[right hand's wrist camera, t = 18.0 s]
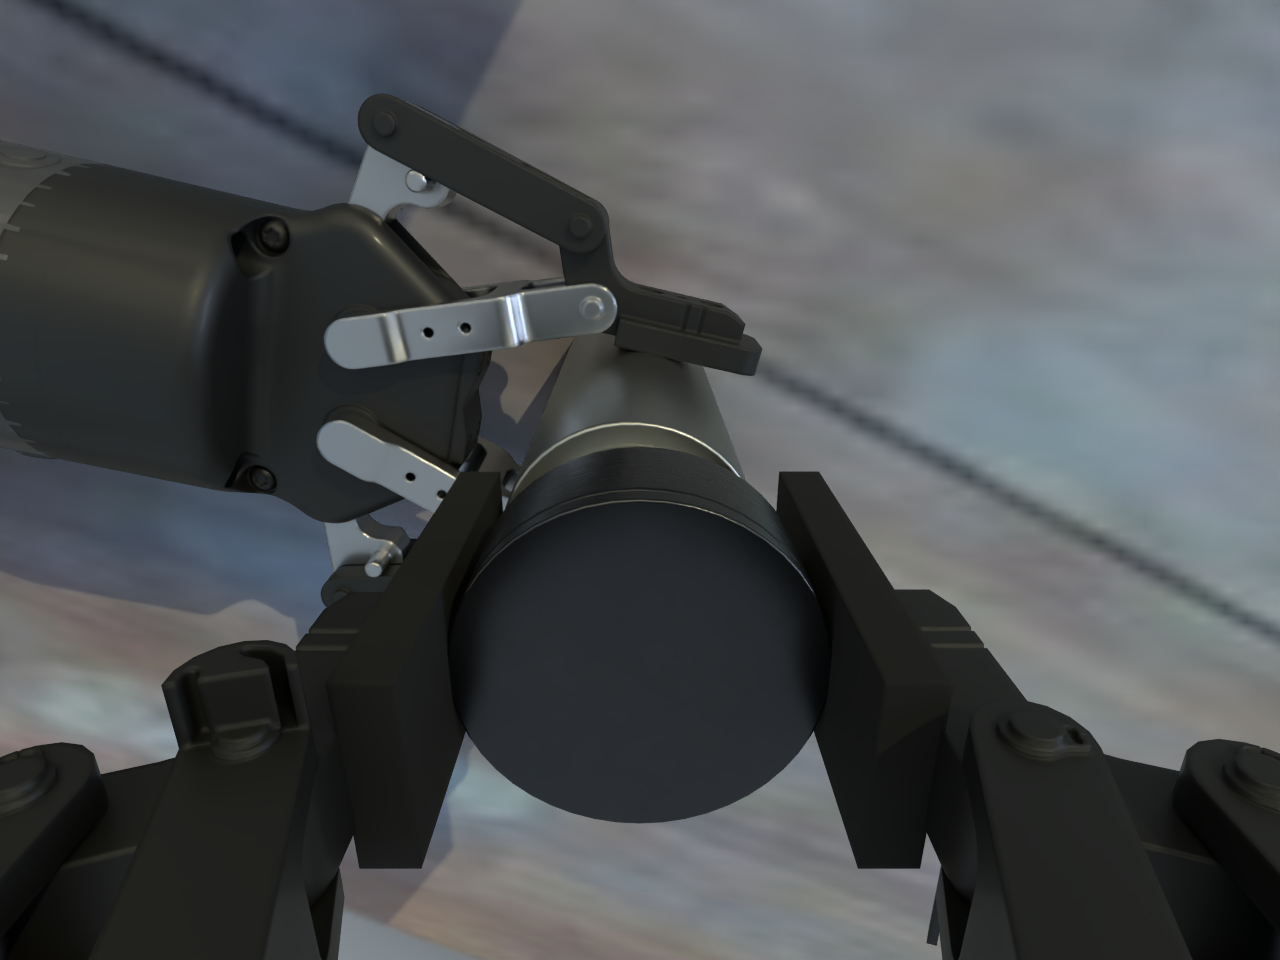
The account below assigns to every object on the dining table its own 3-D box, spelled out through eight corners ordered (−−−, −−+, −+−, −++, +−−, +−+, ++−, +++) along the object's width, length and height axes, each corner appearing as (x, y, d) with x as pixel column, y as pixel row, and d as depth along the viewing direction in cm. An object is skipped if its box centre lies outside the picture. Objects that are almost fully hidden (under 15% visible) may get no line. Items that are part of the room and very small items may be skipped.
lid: (841, 671, 13) (879, 760, 11) (560, 765, 14) (546, 864, 12) (736, 392, 11) (758, 436, 9) (419, 518, 12) (374, 585, 10)
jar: (566, 302, 25) (477, 450, 11) (707, 311, 25) (799, 468, 11) (562, 437, 27) (482, 714, 13) (694, 444, 27) (760, 727, 13)
